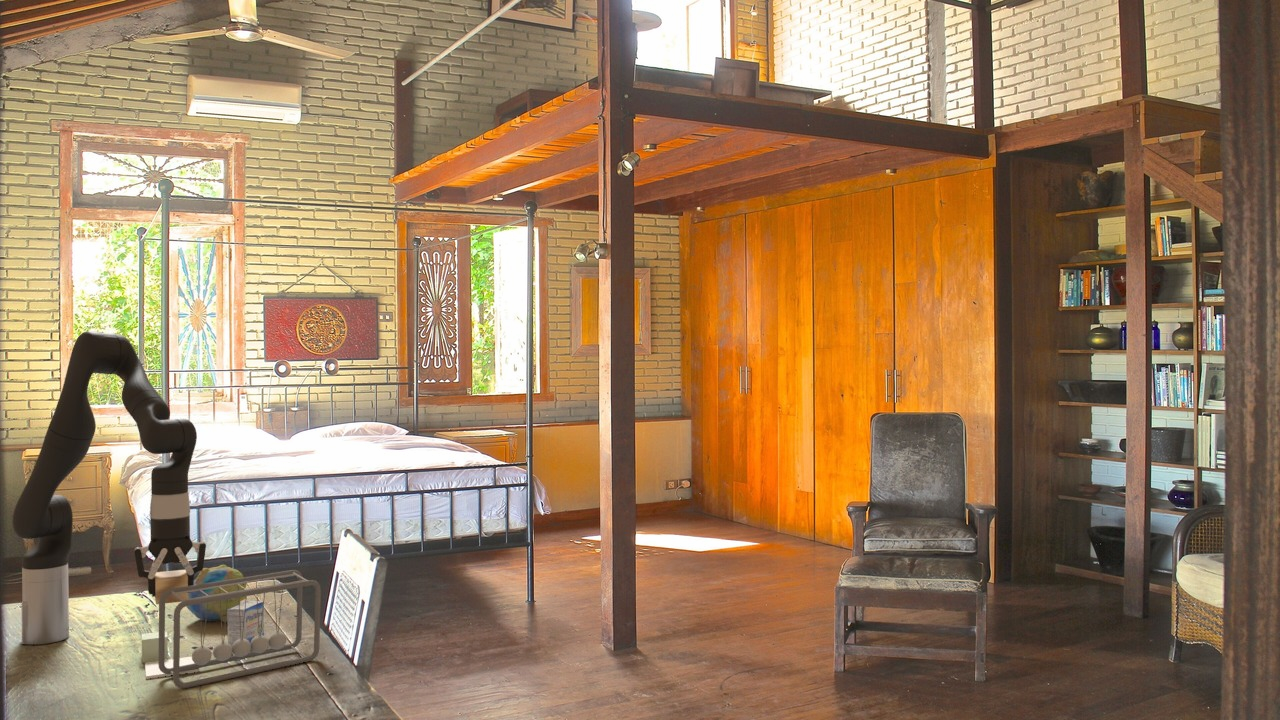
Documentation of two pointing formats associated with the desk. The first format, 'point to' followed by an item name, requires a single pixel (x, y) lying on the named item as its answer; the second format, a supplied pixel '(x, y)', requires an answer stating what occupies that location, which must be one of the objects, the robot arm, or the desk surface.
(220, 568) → the globe ball
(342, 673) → the desk surface
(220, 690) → the desk surface
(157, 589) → the oak block
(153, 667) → the board
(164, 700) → the desk surface
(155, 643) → the sage block
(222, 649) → the newton's cradle
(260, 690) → the desk surface
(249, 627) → the medicine box
